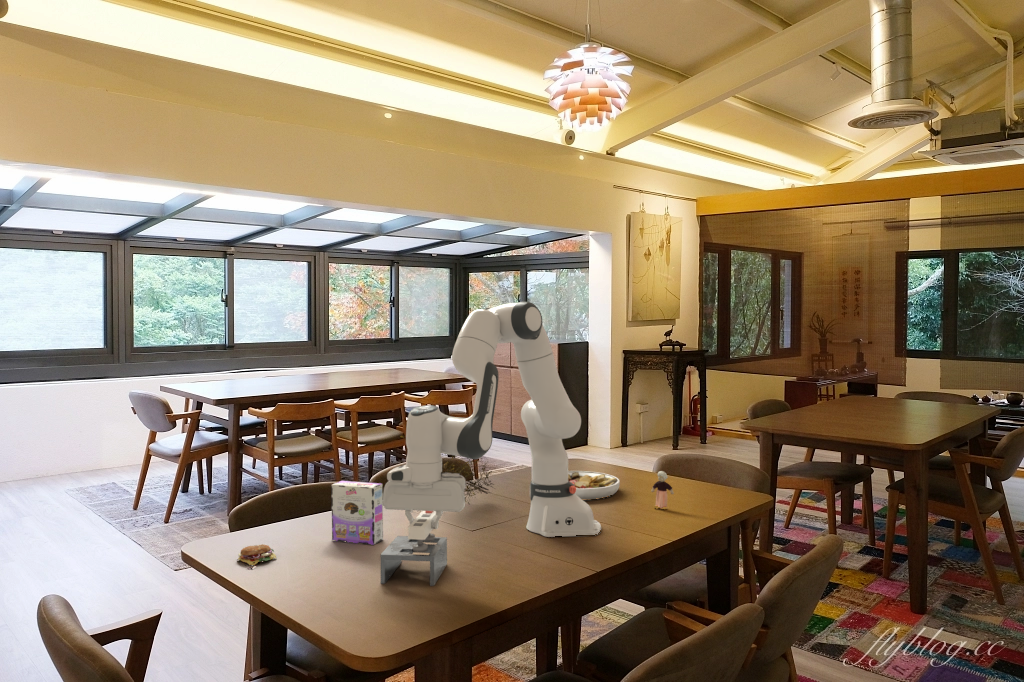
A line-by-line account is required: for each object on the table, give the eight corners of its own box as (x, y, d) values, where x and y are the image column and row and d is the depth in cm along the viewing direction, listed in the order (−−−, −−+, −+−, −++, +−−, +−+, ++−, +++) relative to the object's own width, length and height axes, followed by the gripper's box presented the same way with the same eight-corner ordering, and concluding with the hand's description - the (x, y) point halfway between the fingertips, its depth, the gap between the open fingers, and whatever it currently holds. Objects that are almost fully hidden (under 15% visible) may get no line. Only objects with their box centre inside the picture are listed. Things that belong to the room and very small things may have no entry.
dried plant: (473, 444, 258) (390, 404, 225) (541, 462, 239) (462, 421, 206) (444, 526, 251) (355, 497, 217) (513, 551, 232) (426, 524, 198)
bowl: (565, 480, 281) (565, 460, 281) (633, 490, 264) (633, 469, 263) (521, 494, 257) (521, 473, 257) (593, 507, 239) (593, 484, 239)
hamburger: (216, 565, 183) (215, 542, 183) (264, 551, 194) (263, 530, 194) (246, 577, 175) (246, 553, 174) (295, 561, 186) (294, 539, 185)
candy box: (384, 539, 203) (383, 482, 203) (373, 546, 198) (373, 487, 197) (342, 535, 208) (341, 479, 207) (330, 541, 202) (330, 483, 202)
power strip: (438, 536, 182) (438, 508, 182) (424, 555, 167) (424, 524, 167) (423, 535, 183) (423, 507, 183) (408, 554, 168) (408, 524, 168)
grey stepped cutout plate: (446, 564, 182) (446, 537, 182) (434, 585, 167) (434, 556, 167) (397, 562, 184) (397, 535, 184) (380, 583, 169) (380, 554, 169)
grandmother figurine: (649, 509, 236) (649, 471, 236) (651, 506, 239) (652, 469, 239) (672, 511, 233) (673, 473, 233) (674, 508, 237) (675, 470, 236)
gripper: (467, 470, 177) (467, 525, 177) (388, 468, 179) (388, 522, 179) (463, 476, 170) (463, 533, 171) (380, 473, 173) (380, 530, 173)
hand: (424, 527), depth 175 cm, fingers closed on power strip, 4 cm apart
